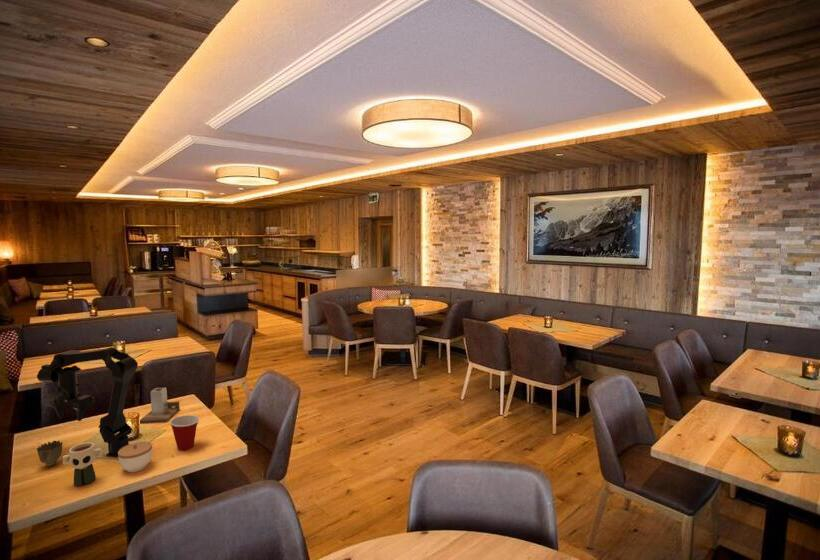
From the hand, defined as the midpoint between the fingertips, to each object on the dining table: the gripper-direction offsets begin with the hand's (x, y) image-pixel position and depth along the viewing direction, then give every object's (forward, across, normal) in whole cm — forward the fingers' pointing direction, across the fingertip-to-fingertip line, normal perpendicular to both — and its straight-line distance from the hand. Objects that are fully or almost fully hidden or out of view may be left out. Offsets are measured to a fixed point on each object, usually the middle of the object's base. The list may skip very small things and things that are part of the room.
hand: (70, 419), depth 169 cm
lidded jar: (+13, +37, -6) cm, 39 cm away
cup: (+13, +3, -10) cm, 17 cm away
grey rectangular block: (+11, +10, +35) cm, 38 cm away
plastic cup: (+12, +44, +12) cm, 47 cm away
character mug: (+13, +26, -17) cm, 34 cm away
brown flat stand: (+13, +10, +35) cm, 38 cm away
